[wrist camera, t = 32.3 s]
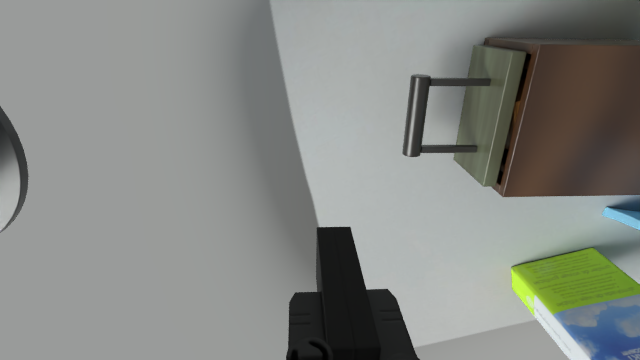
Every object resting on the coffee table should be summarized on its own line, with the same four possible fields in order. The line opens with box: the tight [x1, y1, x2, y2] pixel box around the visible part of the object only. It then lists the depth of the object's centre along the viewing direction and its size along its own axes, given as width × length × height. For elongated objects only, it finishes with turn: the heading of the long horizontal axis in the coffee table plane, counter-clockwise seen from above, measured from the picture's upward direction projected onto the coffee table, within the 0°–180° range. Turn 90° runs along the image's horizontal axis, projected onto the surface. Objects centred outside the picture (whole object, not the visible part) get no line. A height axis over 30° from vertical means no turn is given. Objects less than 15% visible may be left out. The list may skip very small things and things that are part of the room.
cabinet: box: [484, 38, 640, 197], centre depth 34 cm, size 15×13×9 cm
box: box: [511, 248, 640, 360], centre depth 39 cm, size 10×4×17 cm, turn 105°
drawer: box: [403, 45, 531, 186], centre depth 34 cm, size 20×11×7 cm, turn 89°
